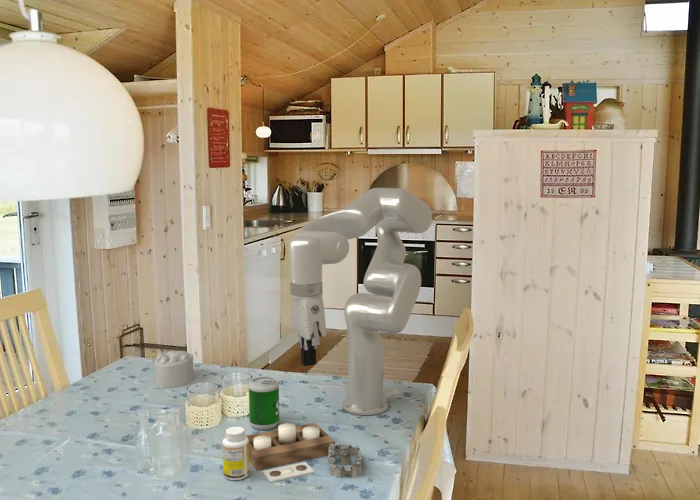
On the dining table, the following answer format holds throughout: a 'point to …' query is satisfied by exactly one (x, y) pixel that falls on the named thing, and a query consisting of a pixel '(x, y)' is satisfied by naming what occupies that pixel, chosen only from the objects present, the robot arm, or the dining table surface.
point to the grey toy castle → (344, 460)
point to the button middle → (287, 433)
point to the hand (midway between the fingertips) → (308, 364)
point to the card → (288, 472)
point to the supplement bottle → (235, 454)
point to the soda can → (264, 403)
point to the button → (311, 433)
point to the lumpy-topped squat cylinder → (173, 369)
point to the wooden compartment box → (288, 449)
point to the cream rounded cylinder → (262, 442)
